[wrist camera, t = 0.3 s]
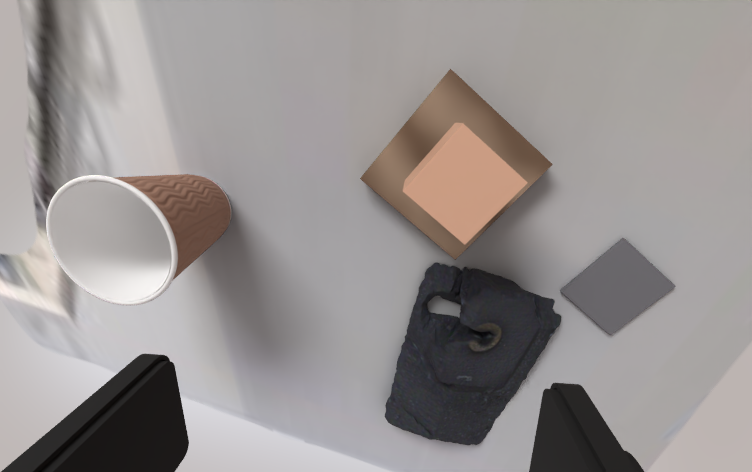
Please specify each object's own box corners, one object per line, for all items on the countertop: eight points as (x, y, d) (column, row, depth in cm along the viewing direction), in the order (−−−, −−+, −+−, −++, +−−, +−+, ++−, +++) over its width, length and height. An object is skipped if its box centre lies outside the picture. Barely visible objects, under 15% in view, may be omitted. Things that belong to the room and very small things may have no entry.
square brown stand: (448, 71, 32) (460, 54, 23) (544, 161, 33) (589, 176, 25) (363, 175, 35) (346, 193, 27) (453, 252, 37) (464, 292, 28)
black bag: (365, 403, 44) (359, 435, 40) (434, 248, 37) (436, 265, 33) (481, 446, 44) (488, 483, 40) (571, 299, 37) (592, 324, 33)
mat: (622, 237, 34) (625, 239, 34) (672, 284, 35) (675, 286, 35) (560, 290, 37) (561, 292, 36) (608, 333, 38) (610, 335, 37)
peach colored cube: (455, 122, 28) (463, 123, 24) (509, 172, 29) (527, 182, 24) (404, 180, 30) (402, 191, 25) (457, 225, 31) (464, 244, 26)
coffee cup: (144, 161, 37) (24, 179, 26) (237, 155, 36) (155, 171, 25) (168, 254, 40) (71, 307, 29) (255, 251, 39) (189, 305, 28)
